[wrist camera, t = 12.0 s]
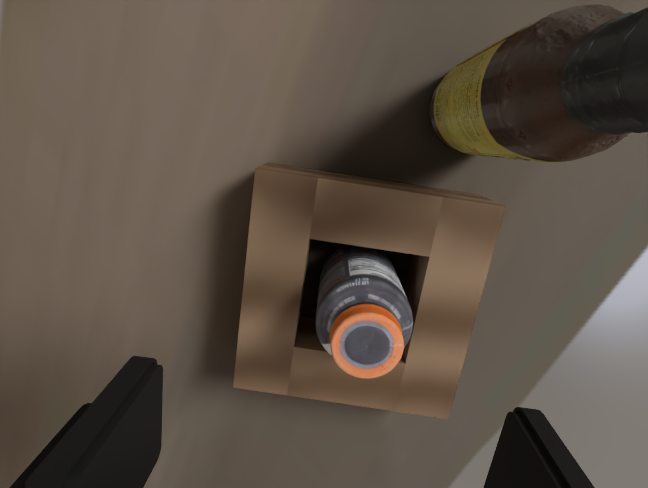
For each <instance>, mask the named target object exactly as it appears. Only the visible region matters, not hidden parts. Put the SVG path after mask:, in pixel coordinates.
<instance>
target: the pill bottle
mask: <svg viewBox="0 0 648 488" xmlns="http://www.w3.org/2000/svg"><path fill="white" fill-rule="evenodd" d="M412 329H413V315H412V310H411V307H410V304H409V302H408V300H407V297H406V295H405V292H404V290H403V287H402V285H401V283H400V281H399V278H398V276H397V274H396V271H395V269H394V266H393V264H392V262H391V260H390V259H389V257H388V256H387V255H386V254H385V253H384V252H383V251H382V250H380V249H374V248H368V247H361V246H354V245H348V244H347V245H344V246H341V247H340V248H338V249H336V250H335V251H333V252H332V253H331V254H330V255H329V257H328V258H327V259H326V261H325V263H324V264H323V267H322V270H321V275H320V283H319V292H318V301H317V311H316V332H317V335H318V338H319V340H320V342H321V344H322V345H323V347H324V348H325V350H326V351H327V352H328V353H329V354H330V355H331V356H332V357H333V359H334V361H335V362H336V364H337V365H338V366H339V367H340V368H341V369H342V370H343V371H344V372H346V373H347V374H349V375H352V376H354V377H357V378H364V379H370V378H376V377H380V376H382V375H385V374H387V373H388V372H390V371H391V370H392V369H393V368H394V367H395V366H396V365H397V364H398V362H399V361H400V359H401V357H402V354H403V350H404V347H405V346H406V344H407V343H408V341H409V339H410V336H411V333H412Z"/></svg>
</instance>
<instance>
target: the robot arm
mask: <svg viewBox="0 0 648 488" xmlns="http://www.w3.org/2000/svg"><path fill="white" fill-rule="evenodd" d="M162 388H163V367H162V365H157V361H156V359H154V358H147V357H139V356H133V357H131V358H130V359H129V361H128V362H127V363H126V364H125V365H124V366H123V368H122V369H121V370H120V371H119V372H118V373H117V375H116V376H115V377H114V378H113V379H112V380H111V382H110V383H109V384H108V385H107V386H106V387H105V389H104V390H103V391H102V392H101V393H100V394H99V396H98V397H97V398H96V399H95V400H94V402H93V403H92V404H91V403H87V404H85V405H83V406H82V407H81V408H80V409H79V410H78V411H77V412H76V413H75V414H74V415H73V417H72V418H71V419H70V420H69V421H68V422H67V423H66V424H65V426H64V427H63V428H62V429H61V430H60V431H59V432H58V434H57V435H56V436H55V437H54V438H53V439H52V440H51V441H50V443H49V444H48V445H47V446H46V447H45V448H44V449H43V450H42V452H41V453H40V454H39V455H38V456H37V457H36V458H35V460H34V461H33V462H32V463H31V464H30V465H29V466H28V467H27V469H26V470H25V471H24V472H23V473H22V474H21V475H20V477H19V478H18V479H17V480H16V481H15V482H14V483H13V484H12V486H11V487H10V488H143V487H144V485H145V483H146V481H147V479H148V477H149V475H150V474H151V472H152V470H153V468H154V466H155V464H156V462H157V460H158V457H159V454H160V450H161V433H162ZM484 488H594V486H593V485H592V483H591V482H590V480H589V479H588V478H587V476H586V475H585V473H584V472H583V470H582V469H581V468H580V466H579V465H578V463H577V462H576V460H575V459H574V458H573V456H572V455H571V453H570V452H569V450H568V449H567V447H566V446H565V445H564V443H563V442H562V440H561V439H560V437H559V436H558V435H557V433H556V432H555V430H554V429H553V427H552V426H551V425H550V423H549V422H548V420H547V419H546V417H545V416H544V414H543V413H542V412H541V411H539V410H536V409H528V408H521V407H517V408H515V409H514V411H513V412H509V413H508V414H507V416H506V419H505V422H504V425H503V428H502V431H501V435H500V438H499V441H498V444H497V447H496V450H495V454H494V456H493V460H492V463H491V466H490V469H489V472H488V475H487V479H486V482H485V485H484Z"/></svg>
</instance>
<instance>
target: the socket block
mask: <svg viewBox="0 0 648 488" xmlns="http://www.w3.org/2000/svg"><path fill="white" fill-rule="evenodd" d="M504 210H505V206H503V205H501V204H499V203H496V202H494V201H492V200H490V199H487V198H485V197H483V196H481V195H477V194H470V193H464V192H457V191H451V190H444V189H438V188H431V187H424V186H418V185H411V184H405V183H398V182H392V181H385V180H379V179H372V178H365V177H359V176H352V175H346V174H339V173H333V172H326V171H319V170H313V169H306V168H300V167H293V166H287V165H280V164H274V163H266V164H264V165H262V166H260V167H257V168H255V176H254V185H253V195H252V205H251V215H250V225H249V234H248V244H247V254H246V264H245V274H244V283H243V293H242V303H241V313H240V323H239V332H238V342H237V352H236V362H235V372H234V381H233V387H234V388H240V389H247V390H254V391H261V392H267V393H274V394H281V395H288V396H295V397H301V398H308V399H315V400H322V401H328V402H335V403H342V404H349V405H356V406H362V407H369V408H376V409H383V410H389V411H396V412H403V413H410V414H417V415H423V416H430V417H437V418H444V419H449V415H450V412H451V408H452V404H453V400H454V397H455V393H456V389H457V386H458V382H459V378H460V374H461V371H462V367H463V363H464V359H465V356H466V352H467V348H468V345H469V341H470V337H471V333H472V330H473V326H474V322H475V318H476V315H477V311H478V307H479V304H480V300H481V296H482V292H483V289H484V285H485V281H486V277H487V274H488V270H489V266H490V263H491V259H492V255H493V251H494V248H495V244H496V240H497V236H498V233H499V229H500V225H501V222H502V218H503V214H504ZM311 239H315V240H321V241H328V242H334V243H341V244H348V245H354V246H361V247H368V248H374V249H381V250H387V251H394V252H401V253H407V254H412V258H411V263H410V267H409V272H408V277H407V281H406V286H405V291H404V292H405V295H406V297H407V300H408V302H409V304H410V307H411V310H412V315H413V329H412V333H411V336H410V339H409V341H408V343H407V344H406V346H405V347H404V350H403V354H402V357H401V359H400V361H399V362H398V364H397V365H396V366H395V367H394V368H393V369H392V370H391V371H390V372H388V373H387V374H385V375H382V376H380V377H376V378H370V379H364V378H357V377H354V376H352V375H349V374H347V373H346V372H344V371H343V370H342V369H341V368H340V367H339V366H338V365H337V364H336V362H335V361H334V359H333V357H332V356H331V355H330V354H329V353H328V352H327V351H326V350H325V348H324V347H323V345H322V344H321V342H320V340H319V338H318V335H317V332H316V319H314V318H307V317H301V316H300V313H301V306H302V299H303V293H304V286H305V279H306V272H307V265H308V258H309V251H310V244H311Z"/></svg>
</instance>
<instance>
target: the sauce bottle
mask: <svg viewBox="0 0 648 488" xmlns="http://www.w3.org/2000/svg"><path fill="white" fill-rule="evenodd" d="M429 113H430V118H431V121H432V124H433V128H434V130H435V133H436V134H437V136H438V137H439V138H440V139H441V140H442V141H443V142H444V143H445V144H446V145H447V146H449V147H451V148H453V149H456V150H458V151H460V152H463V153H466V154H470V155H478V156H492V157H503V158H509V159H523V160H533V161H541V162H565V161H572V160H576V159H580V158H583V157H586V156H589V155H592V154H595V153H598V152H601V151H604V150H606V149H608V148H609V147H611V146H612V145H614V144H616V143H617V142H619V141H620V140H622V139H623V138H624V137H626V136H627V135H628V134H629V133H631V132H635V133H642V132H648V8H645V9H643V10H641V11H638V12H636V13H627V14H625V13H623V12H621V11H619V10H616V9H614V8H613V7H610V6H603V5H584V6H576V7H572V8H568V9H564V10H561V11H559V12H556V13H553V14H550V15H549V16H547V17H545V18H543V19H541V20H539V21H537V22H534V23H531V24H529V25H527V26H525V27H523V28H521V29H519V30H517V31H516V32H514V33H512V34H510V35H508V36H507V37H505V38H503V39H501V40H500V41H498V42H496V43H494V44H493V45H491V46H489V47H487V48H486V49H484V50H482V51H480V52H479V53H477V54H475V55H473V56H471V57H470V58H468V59H466V60H465V61H463V62H461V63H460V64H458V65H457V66H456V68H454V69H452V70H451V71H450V72H448V73H447V74H446V75H445V76H444V77H443V78H442V79H441V81H440V82H439V84H438V86H437V87H436V89H435V91H434V94H433V97H432V100H431V103H430V109H429Z"/></svg>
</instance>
